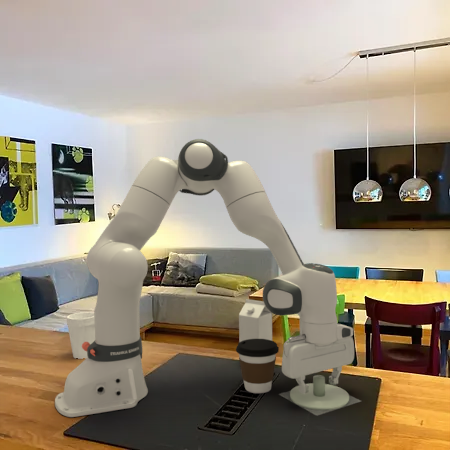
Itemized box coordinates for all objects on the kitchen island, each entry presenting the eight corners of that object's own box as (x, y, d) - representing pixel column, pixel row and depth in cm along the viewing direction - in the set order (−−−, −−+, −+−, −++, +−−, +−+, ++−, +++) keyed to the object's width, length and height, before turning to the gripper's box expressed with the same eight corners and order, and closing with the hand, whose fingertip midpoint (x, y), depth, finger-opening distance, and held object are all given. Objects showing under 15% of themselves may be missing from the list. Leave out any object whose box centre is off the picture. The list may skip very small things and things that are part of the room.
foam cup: (104, 353, 152) (103, 314, 152) (82, 362, 145) (80, 320, 144) (84, 349, 158) (83, 311, 157) (62, 357, 150) (60, 317, 149)
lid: (316, 415, 104) (316, 393, 104) (278, 394, 116) (278, 374, 116) (361, 400, 111) (361, 380, 111) (321, 382, 123) (321, 363, 123)
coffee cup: (230, 396, 117) (229, 348, 116) (244, 380, 127) (243, 336, 127) (273, 401, 113) (272, 352, 113) (283, 384, 123) (283, 339, 123)
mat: (316, 418, 104) (316, 415, 104) (278, 396, 116) (278, 394, 116) (361, 403, 111) (361, 401, 111) (321, 384, 123) (321, 382, 123)
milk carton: (253, 357, 145) (252, 297, 145) (272, 362, 141) (271, 299, 140) (239, 364, 140) (238, 301, 139) (259, 369, 135) (258, 304, 135)
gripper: (292, 341, 105) (293, 402, 105) (358, 328, 115) (358, 383, 116) (275, 335, 110) (276, 393, 111) (339, 322, 121) (340, 375, 121)
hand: (319, 388), depth 113 cm, fingers open, 8 cm apart
